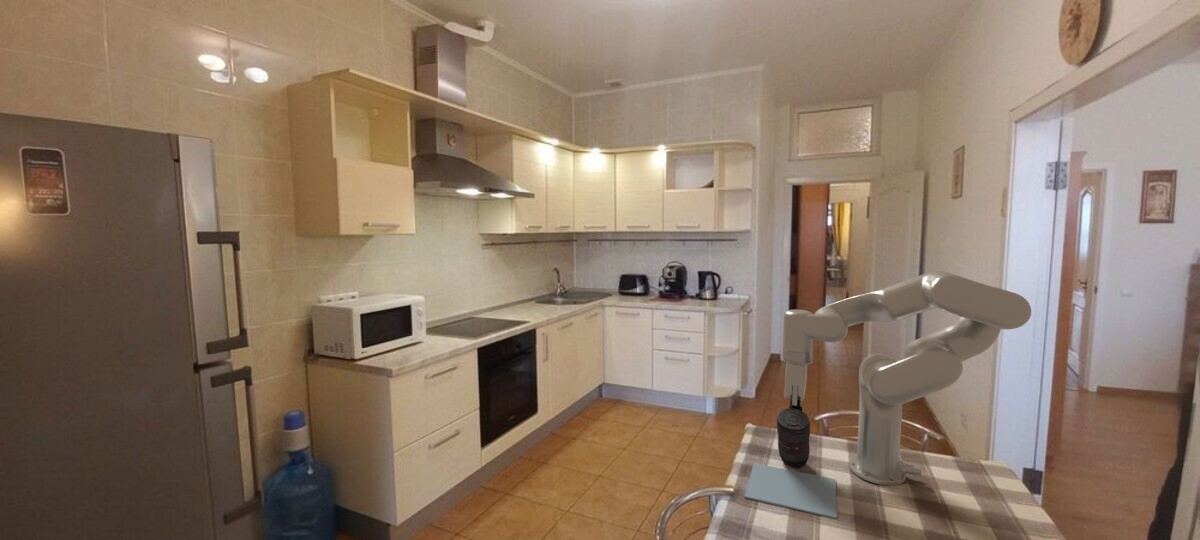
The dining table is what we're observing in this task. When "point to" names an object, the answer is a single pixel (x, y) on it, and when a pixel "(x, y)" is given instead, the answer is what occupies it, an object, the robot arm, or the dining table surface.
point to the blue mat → (793, 490)
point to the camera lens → (793, 437)
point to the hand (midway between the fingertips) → (795, 420)
